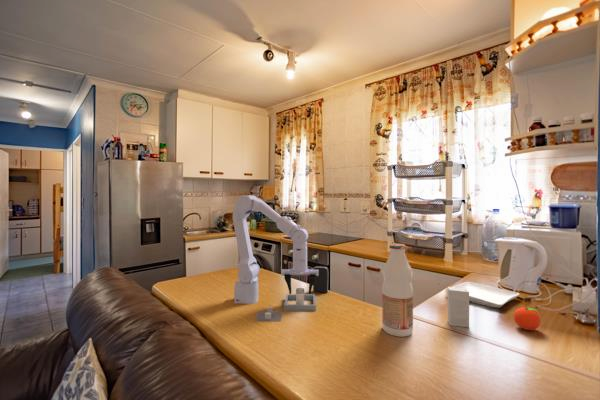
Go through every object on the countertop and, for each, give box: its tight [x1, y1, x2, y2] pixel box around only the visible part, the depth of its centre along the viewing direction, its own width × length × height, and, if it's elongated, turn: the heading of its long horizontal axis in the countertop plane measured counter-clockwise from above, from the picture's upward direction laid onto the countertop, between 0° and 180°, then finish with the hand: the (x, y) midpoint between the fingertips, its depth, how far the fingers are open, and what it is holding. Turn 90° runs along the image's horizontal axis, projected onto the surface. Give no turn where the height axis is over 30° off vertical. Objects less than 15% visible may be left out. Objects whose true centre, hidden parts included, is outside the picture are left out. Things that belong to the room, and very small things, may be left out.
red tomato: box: [513, 306, 543, 331], centre depth 95 cm, size 8×7×7 cm
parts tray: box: [283, 293, 317, 312], centre depth 116 cm, size 12×12×3 cm
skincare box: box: [446, 286, 470, 328], centre depth 99 cm, size 6×4×12 cm
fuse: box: [295, 287, 305, 305], centre depth 115 cm, size 3×3×6 cm
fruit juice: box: [381, 243, 414, 337], centre depth 95 cm, size 9×9×28 cm
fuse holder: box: [254, 306, 283, 322], centre depth 105 cm, size 9×9×3 cm
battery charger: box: [312, 265, 329, 294], centre depth 133 cm, size 7×4×11 cm, turn 79°
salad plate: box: [445, 281, 520, 309], centre depth 124 cm, size 21×21×3 cm
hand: (300, 293), depth 116 cm, fingers open, 7 cm apart
